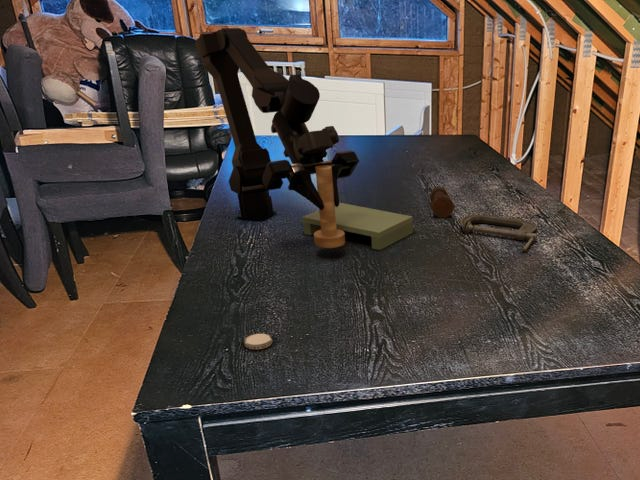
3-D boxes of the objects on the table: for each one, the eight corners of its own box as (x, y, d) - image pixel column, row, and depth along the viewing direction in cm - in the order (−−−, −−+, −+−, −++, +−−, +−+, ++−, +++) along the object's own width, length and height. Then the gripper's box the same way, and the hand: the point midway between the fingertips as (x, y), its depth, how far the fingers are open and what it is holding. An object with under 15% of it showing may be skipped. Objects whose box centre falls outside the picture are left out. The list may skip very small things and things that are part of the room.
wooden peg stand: (309, 246, 128) (301, 169, 121) (321, 236, 133) (314, 162, 126) (338, 249, 127) (332, 171, 120) (349, 239, 133) (344, 164, 125)
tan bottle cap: (239, 343, 98) (238, 339, 98) (261, 334, 101) (261, 330, 101) (255, 351, 96) (254, 348, 96) (277, 342, 99) (277, 338, 99)
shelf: (303, 233, 143) (302, 216, 141) (340, 218, 153) (339, 202, 151) (379, 250, 136) (378, 232, 134) (413, 233, 146) (412, 216, 144)
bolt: (440, 206, 170) (446, 222, 156) (423, 197, 168) (427, 212, 155) (452, 187, 168) (458, 201, 154) (434, 177, 166) (439, 191, 153)
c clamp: (553, 230, 150) (554, 218, 149) (526, 253, 136) (526, 240, 135) (473, 216, 157) (474, 205, 156) (440, 237, 144) (440, 225, 142)
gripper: (260, 116, 115) (298, 192, 114) (351, 107, 126) (386, 176, 125) (247, 153, 124) (281, 224, 123) (333, 142, 135) (365, 207, 134)
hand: (330, 207), depth 126 cm, fingers closed on wooden peg stand, 3 cm apart
